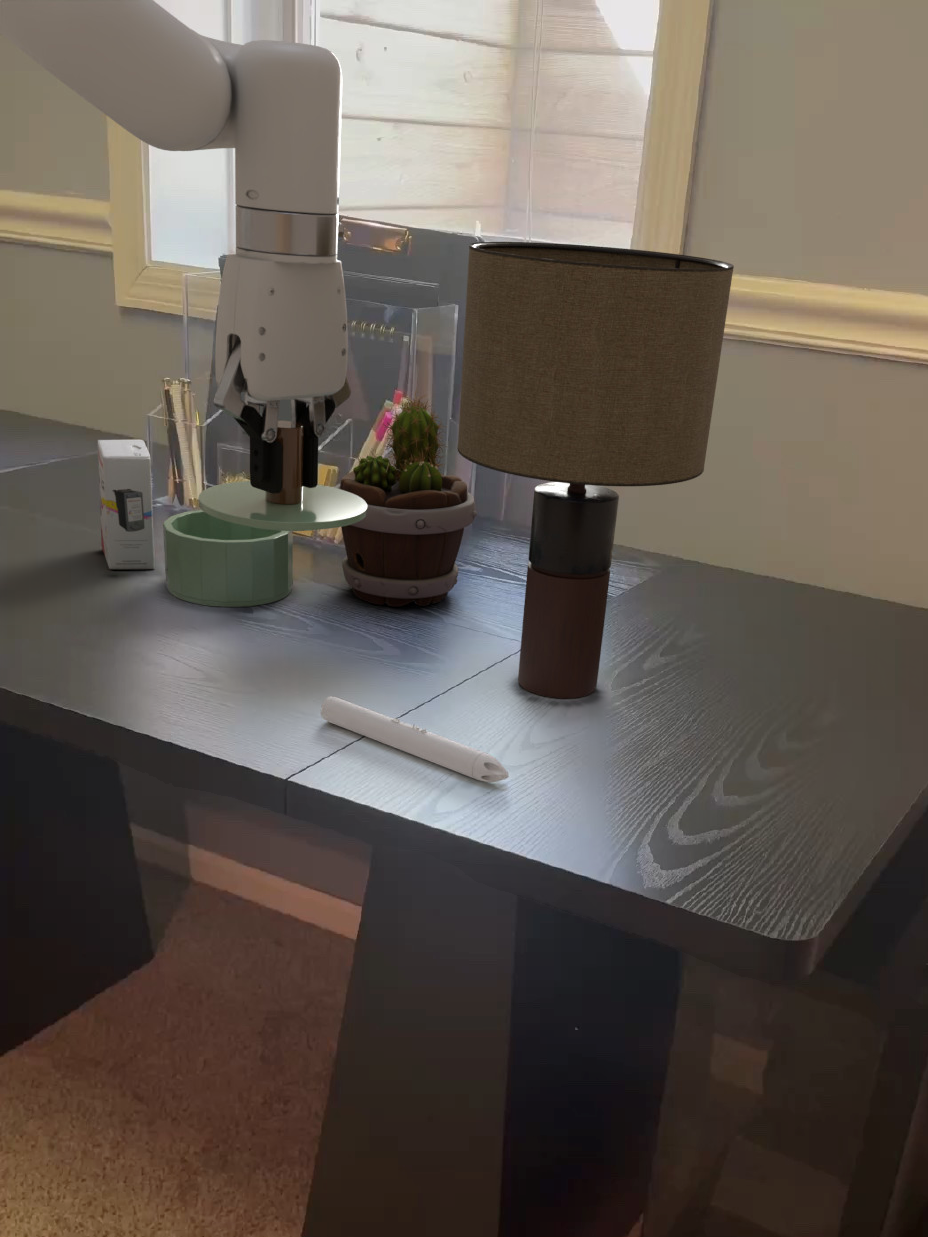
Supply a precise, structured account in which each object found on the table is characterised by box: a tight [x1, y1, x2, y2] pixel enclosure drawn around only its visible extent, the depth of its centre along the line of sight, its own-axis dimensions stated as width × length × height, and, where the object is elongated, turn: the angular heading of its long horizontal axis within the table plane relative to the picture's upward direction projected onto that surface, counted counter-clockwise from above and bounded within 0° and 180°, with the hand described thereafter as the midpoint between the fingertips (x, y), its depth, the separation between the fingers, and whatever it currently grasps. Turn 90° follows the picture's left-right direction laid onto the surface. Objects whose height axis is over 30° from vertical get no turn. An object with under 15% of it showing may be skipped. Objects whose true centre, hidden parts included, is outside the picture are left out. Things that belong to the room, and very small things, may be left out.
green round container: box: [162, 509, 294, 608], centre depth 132 cm, size 13×13×6 cm
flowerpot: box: [332, 387, 478, 608], centre depth 131 cm, size 14×15×20 cm
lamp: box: [457, 241, 735, 699], centre depth 107 cm, size 20×20×35 cm
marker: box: [320, 696, 510, 783], centre depth 100 cm, size 18×2×2 cm, turn 53°
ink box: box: [97, 438, 156, 570], centre depth 137 cm, size 9×5×12 cm, turn 19°
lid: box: [198, 420, 368, 532], centre depth 104 cm, size 14×14×7 cm
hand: (283, 484), depth 105 cm, fingers closed on lid, 3 cm apart
